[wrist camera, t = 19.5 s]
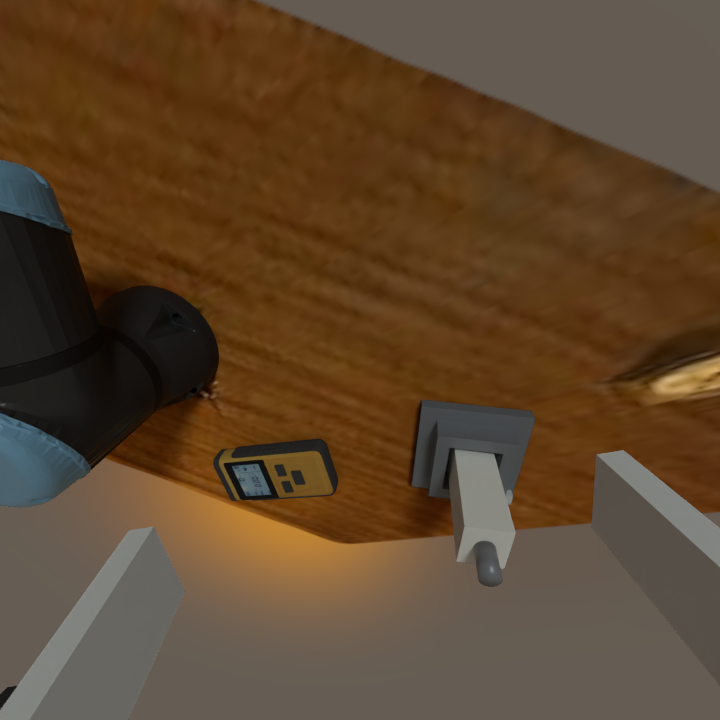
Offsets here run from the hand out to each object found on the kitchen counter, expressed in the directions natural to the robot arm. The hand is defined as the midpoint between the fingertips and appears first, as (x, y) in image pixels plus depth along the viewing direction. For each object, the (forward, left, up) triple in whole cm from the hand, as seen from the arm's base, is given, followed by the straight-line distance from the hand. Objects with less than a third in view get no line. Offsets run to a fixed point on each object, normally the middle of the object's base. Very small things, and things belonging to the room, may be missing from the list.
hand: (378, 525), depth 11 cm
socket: (+9, -21, -31) cm, 39 cm away
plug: (+9, -21, -30) cm, 38 cm away
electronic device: (-16, -29, -32) cm, 46 cm away
